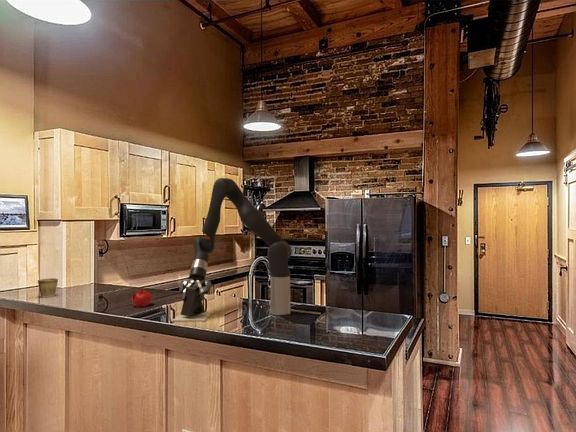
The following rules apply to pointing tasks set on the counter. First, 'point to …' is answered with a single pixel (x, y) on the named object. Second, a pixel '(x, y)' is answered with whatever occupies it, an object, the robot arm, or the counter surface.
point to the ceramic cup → (47, 287)
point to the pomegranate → (141, 298)
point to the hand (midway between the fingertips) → (192, 300)
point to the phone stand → (192, 302)
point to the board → (192, 317)
